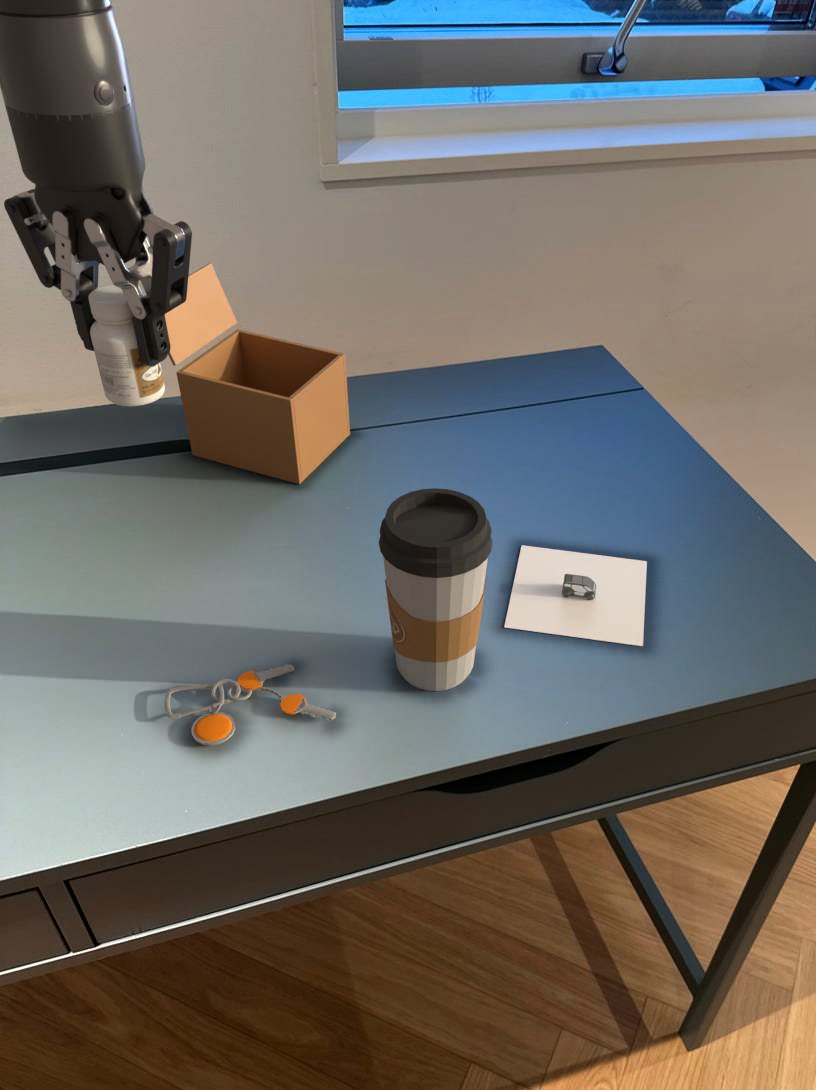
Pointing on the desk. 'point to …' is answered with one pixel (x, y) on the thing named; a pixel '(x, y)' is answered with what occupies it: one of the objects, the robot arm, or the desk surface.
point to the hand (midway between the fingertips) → (126, 353)
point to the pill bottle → (121, 351)
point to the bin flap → (198, 315)
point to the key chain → (222, 725)
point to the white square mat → (578, 595)
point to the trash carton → (266, 404)
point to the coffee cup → (435, 583)
